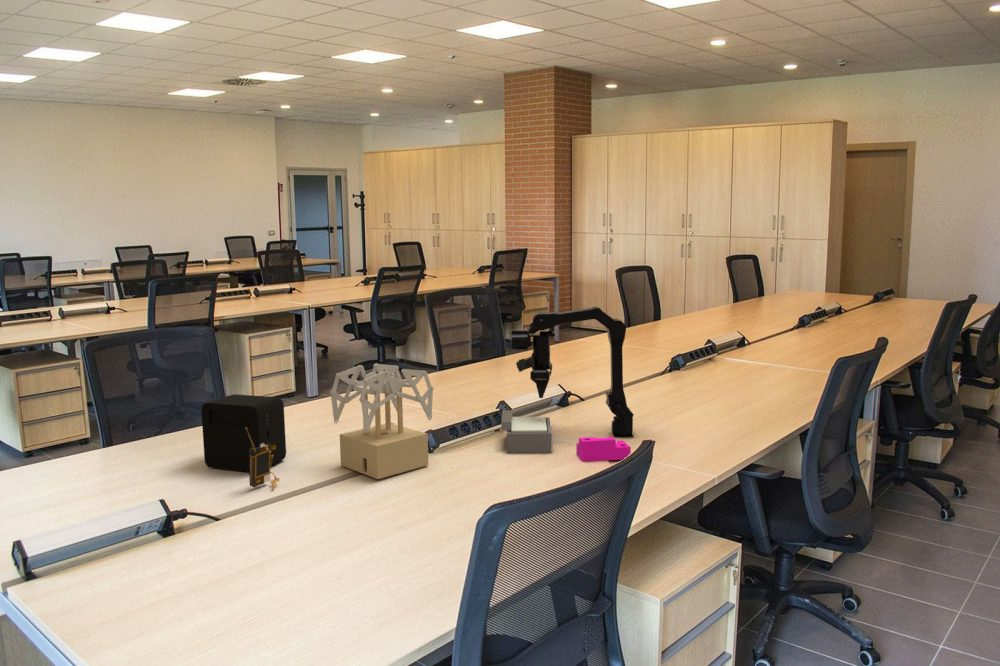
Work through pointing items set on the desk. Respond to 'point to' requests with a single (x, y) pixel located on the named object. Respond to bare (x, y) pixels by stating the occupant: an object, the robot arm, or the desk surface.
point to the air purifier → (242, 430)
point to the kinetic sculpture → (387, 443)
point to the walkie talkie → (261, 464)
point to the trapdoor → (522, 423)
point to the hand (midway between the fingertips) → (542, 395)
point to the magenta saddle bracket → (601, 449)
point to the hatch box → (530, 441)
